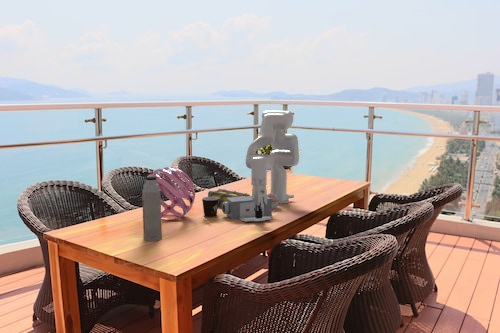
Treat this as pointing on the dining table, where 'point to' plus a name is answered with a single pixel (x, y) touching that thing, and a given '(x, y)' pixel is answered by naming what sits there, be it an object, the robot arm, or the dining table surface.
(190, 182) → the spiral basket
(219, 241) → the dining table surface
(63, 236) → the dining table surface
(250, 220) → the side door
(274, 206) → the cupcake
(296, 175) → the dining table surface
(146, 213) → the thermos bottle
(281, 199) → the robot arm
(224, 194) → the cage light
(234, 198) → the block
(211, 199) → the coffee mug
